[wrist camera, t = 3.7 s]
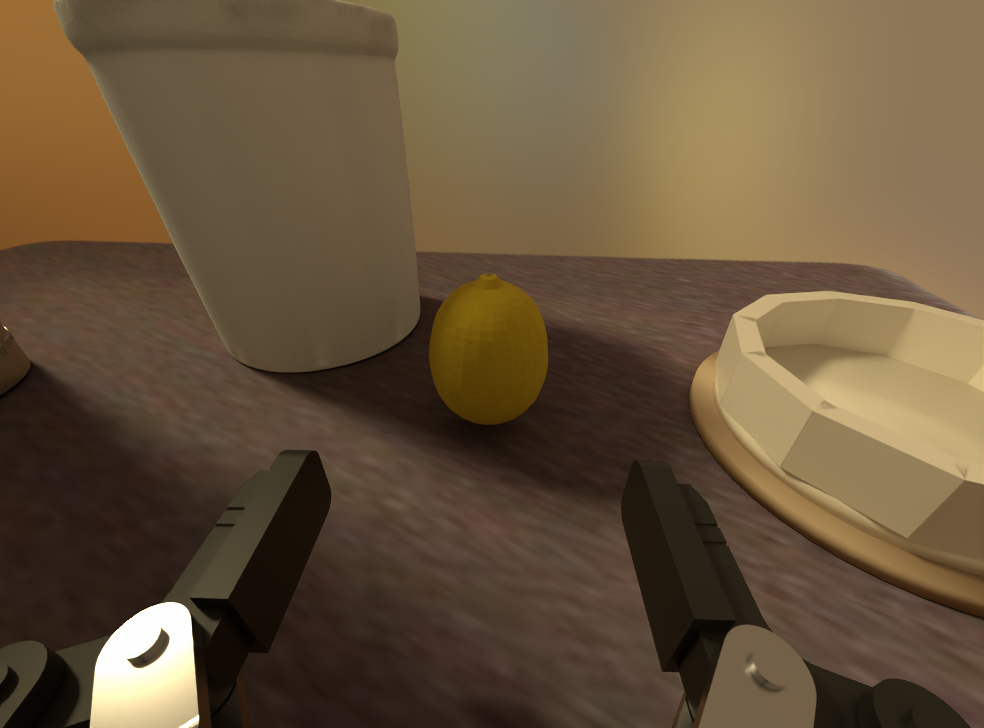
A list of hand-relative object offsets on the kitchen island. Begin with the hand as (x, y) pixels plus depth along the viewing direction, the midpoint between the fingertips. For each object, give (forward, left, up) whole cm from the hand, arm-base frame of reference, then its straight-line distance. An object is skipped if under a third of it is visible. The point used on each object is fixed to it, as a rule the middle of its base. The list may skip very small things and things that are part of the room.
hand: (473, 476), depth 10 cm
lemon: (+6, +7, -6) cm, 11 cm away
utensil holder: (+3, +23, -6) cm, 24 cm away
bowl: (+20, -6, -5) cm, 21 cm away
